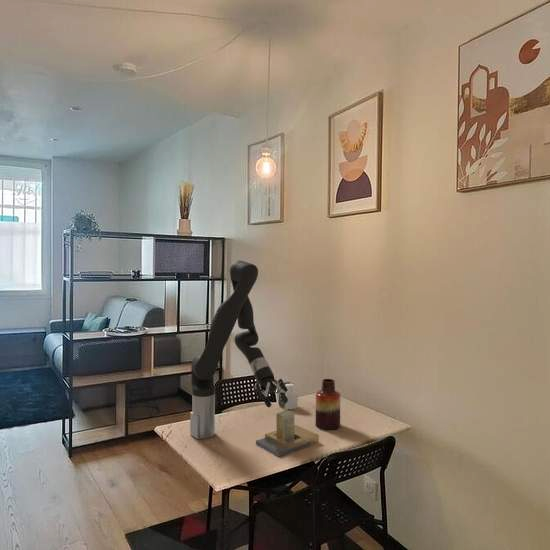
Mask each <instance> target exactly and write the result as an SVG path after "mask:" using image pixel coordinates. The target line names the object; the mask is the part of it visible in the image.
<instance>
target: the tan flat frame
mask: <svg viewBox="0 0 550 550" xmlns="http://www.w3.org/2000/svg"><path fill="white" fill-rule="evenodd" d="M319 435H320V434H318V433H315V432H313V431H310V430H308V429H306V428H304V427H303V426H299V425H297V424H294V437H295V440H293V441H290V442H287V441H285V440H284V439H282V438H280V437H278V436H277V430H274V431H273V430H272V431H270V432H267V433H265V434H264V437H262V438H260V439H257V440H255V445H256V446H259V448H261V449H263V448H264V450H266V451H268V452H269V453H270V454H272V453H273V455H274V454H275V455H274V456H276V457H279V456H280V457H282V455H283V456H285V454H286V455H288V454H291V453H293V452H296V451H298V450H302V449H305V448H307V446H308V447H310V446H314V445H315V443H316V444H318V442H319V443H320V441H319V440H320V436H319ZM280 457H279V458H280Z"/></svg>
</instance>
